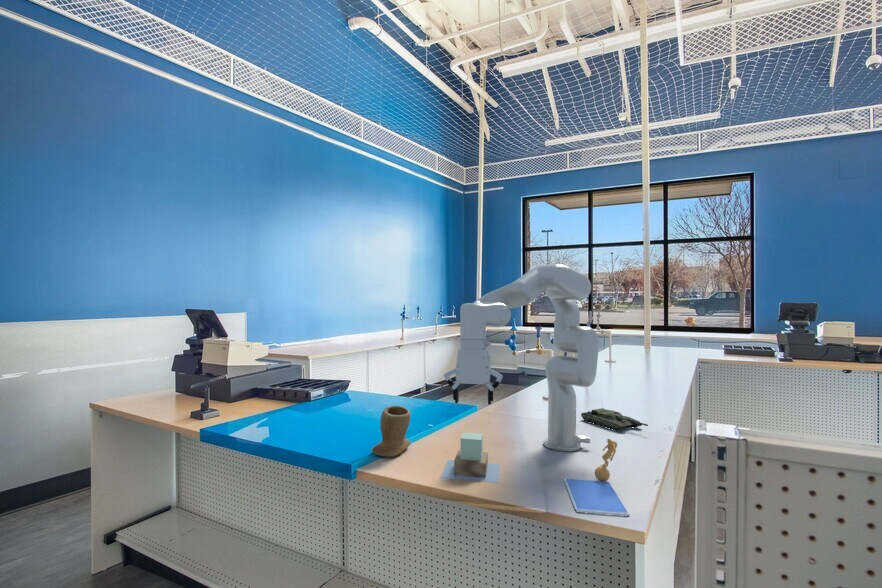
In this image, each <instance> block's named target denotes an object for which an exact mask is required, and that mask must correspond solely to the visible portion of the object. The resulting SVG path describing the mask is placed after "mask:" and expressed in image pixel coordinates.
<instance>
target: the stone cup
mask: <svg viewBox="0 0 882 588" xmlns="http://www.w3.org/2000/svg"><path fill="white" fill-rule="evenodd" d="M380 416H381V417H380V427H379V428H380V432H381V440H382V441H380V442H378V443H377V444H375V446H373V447H372V448H371V452H372V453H373V454H374V453H375V455H377V456H381V457H389V458H390V457H396V456H398V455H400V454H401V453H403V452H404V451H405V450H406V449H408V447H409V446H411V444H412V442H411V441H410V439H407V437H406V435H407V431H408V429H409V427H410V423H411V411H410V410H409V409H408V408H406V406H405V407H404V406H401V405H389V406H387V407H385V408H384V409H383V410H382V412H381V415H380Z"/></svg>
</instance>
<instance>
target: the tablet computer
mask: <svg viewBox="0 0 882 588" xmlns="http://www.w3.org/2000/svg"><path fill="white" fill-rule="evenodd" d="M564 481H565V482H564V484H565V487H566V486H567V487H566V489H567V492H568V495H569V498H570V500H571V502H572V505H573V508H574V511H575V510H576V511H578V512H577V513H579V512H587V513H594V514H593V515H599V514H605V515H604V516H607V515H606V514H609V515H608V516H612V515H628V514H629V515H630V512H629V510H628V509H627V507H626V506H625V504H624V503H623V500H622V499H621V497H620V496H619V495H618V493H617V491H616V490H615V488H614V487H613V485H612V483H611V482H609V481H599V480H588V479H577V478H576V479H574V478H565V479H564ZM576 511H575V512H576ZM587 513H586V514H587ZM610 514H611V515H610Z"/></svg>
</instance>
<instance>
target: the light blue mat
mask: <svg viewBox="0 0 882 588" xmlns="http://www.w3.org/2000/svg"><path fill="white" fill-rule="evenodd" d="M454 460H455V459H453V460H452V459H447V461H446V464H445V466H444V468H443V471H442V473H441V476H440V478H441V479H452V480H464V481H474V482H475V481H476V482H487V483H488V482H489V483H496V484H497V483H499V475H500V463H494V462H493V463H492V462H488V467H487V473H486V478H483V477H471V476H458V475H454Z"/></svg>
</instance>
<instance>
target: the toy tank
mask: <svg viewBox="0 0 882 588" xmlns="http://www.w3.org/2000/svg"><path fill="white" fill-rule="evenodd" d="M601 403H603V402H602V400H601ZM601 405H602V408H595V409H592V410H591V411H589V410H588V411H586V412H581V413H580V414H581V415H580V417H582V420H583V421H584V422H585V421H587V422H586V423H588V422H591V423H590V424H592V423H594V424H593V425H595V424H597V425H596V426H598V425H600V426H599V427H601V426H604V427H607V428H610V429H613V430H617V431H616V432H619V431H618V430H621V431H622V430H625V429H628V428H629V427H637V428H638V427H641V426H645V427H648V426H649V424H647V423H644V422H640V420H637V419H635V418H633V417H630V416H626V415H623V414H622V413H621V412H619V411H616V410H612V409H605V407H604V406H603V404H601ZM604 427H603V428H604ZM607 428H606V429H607ZM610 429H609V430H610ZM613 430H612V431H613Z"/></svg>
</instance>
